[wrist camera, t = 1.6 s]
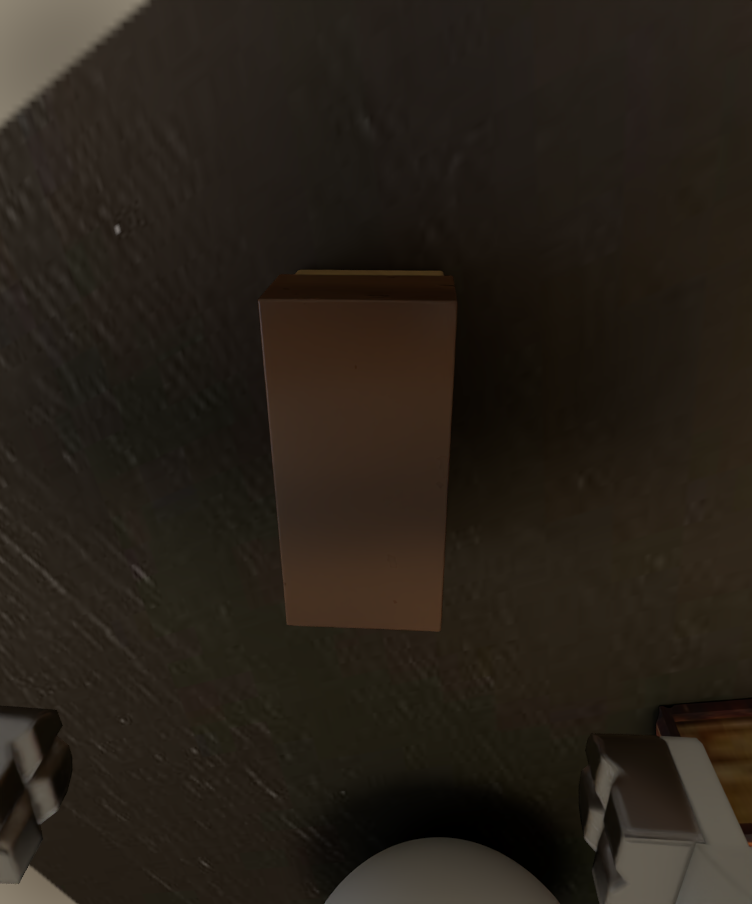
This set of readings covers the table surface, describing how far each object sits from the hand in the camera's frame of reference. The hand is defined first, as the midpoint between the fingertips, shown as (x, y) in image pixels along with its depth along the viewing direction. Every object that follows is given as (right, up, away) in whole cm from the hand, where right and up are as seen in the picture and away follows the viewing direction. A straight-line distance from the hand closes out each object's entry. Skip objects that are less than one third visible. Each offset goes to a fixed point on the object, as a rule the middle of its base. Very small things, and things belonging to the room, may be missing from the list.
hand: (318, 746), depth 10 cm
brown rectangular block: (+1, +5, +10) cm, 11 cm away
